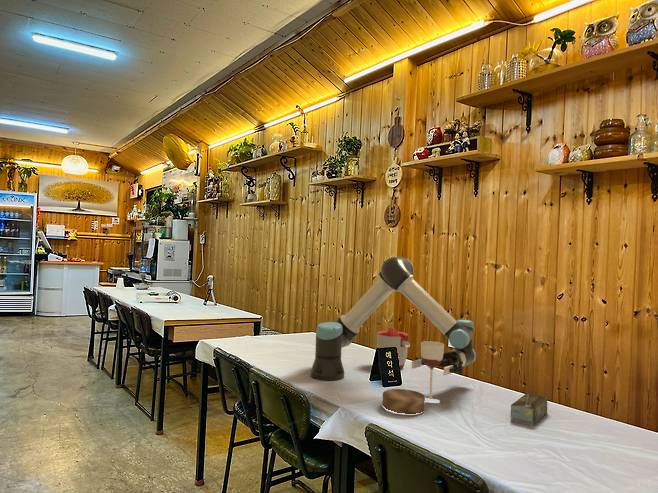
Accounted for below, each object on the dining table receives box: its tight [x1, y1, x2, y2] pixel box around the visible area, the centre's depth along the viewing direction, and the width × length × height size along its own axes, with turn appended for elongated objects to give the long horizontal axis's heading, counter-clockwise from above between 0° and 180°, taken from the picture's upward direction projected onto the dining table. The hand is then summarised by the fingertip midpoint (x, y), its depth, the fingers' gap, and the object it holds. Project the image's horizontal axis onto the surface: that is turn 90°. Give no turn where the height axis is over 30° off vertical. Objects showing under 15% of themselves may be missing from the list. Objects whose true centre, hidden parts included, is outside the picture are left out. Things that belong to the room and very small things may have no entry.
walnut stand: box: [381, 388, 426, 414], centre depth 176 cm, size 15×15×5 cm
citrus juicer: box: [376, 326, 411, 370], centre depth 239 cm, size 16×17×20 cm
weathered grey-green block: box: [510, 392, 548, 427], centre depth 173 cm, size 8×19×7 cm, turn 142°
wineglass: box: [420, 340, 445, 399], centre depth 188 cm, size 9×10×22 cm
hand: (428, 368), depth 186 cm, fingers open, 13 cm apart
